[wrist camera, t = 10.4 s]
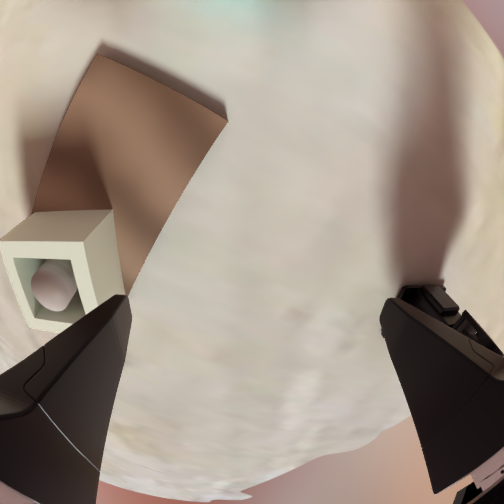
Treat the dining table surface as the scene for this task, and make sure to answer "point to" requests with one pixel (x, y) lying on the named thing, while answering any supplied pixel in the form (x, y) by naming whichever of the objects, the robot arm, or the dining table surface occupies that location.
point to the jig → (121, 165)
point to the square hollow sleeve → (70, 248)
